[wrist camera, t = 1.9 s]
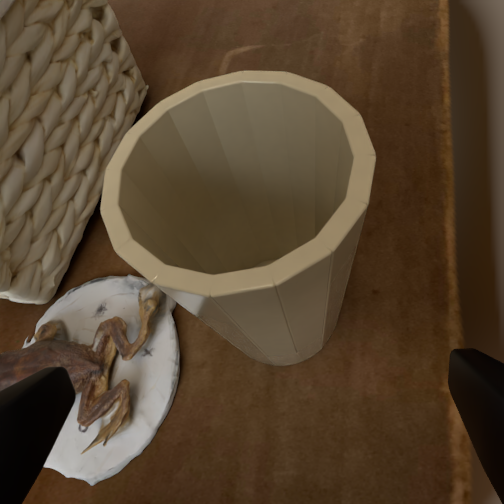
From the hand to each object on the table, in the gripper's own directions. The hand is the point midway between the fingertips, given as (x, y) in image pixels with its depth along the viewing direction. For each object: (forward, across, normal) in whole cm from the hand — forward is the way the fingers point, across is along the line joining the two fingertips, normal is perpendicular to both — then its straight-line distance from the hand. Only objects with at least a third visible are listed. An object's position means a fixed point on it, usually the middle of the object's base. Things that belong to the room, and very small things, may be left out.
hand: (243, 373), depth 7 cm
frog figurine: (+9, +12, +7) cm, 16 cm away
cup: (+11, 0, +5) cm, 12 cm away
